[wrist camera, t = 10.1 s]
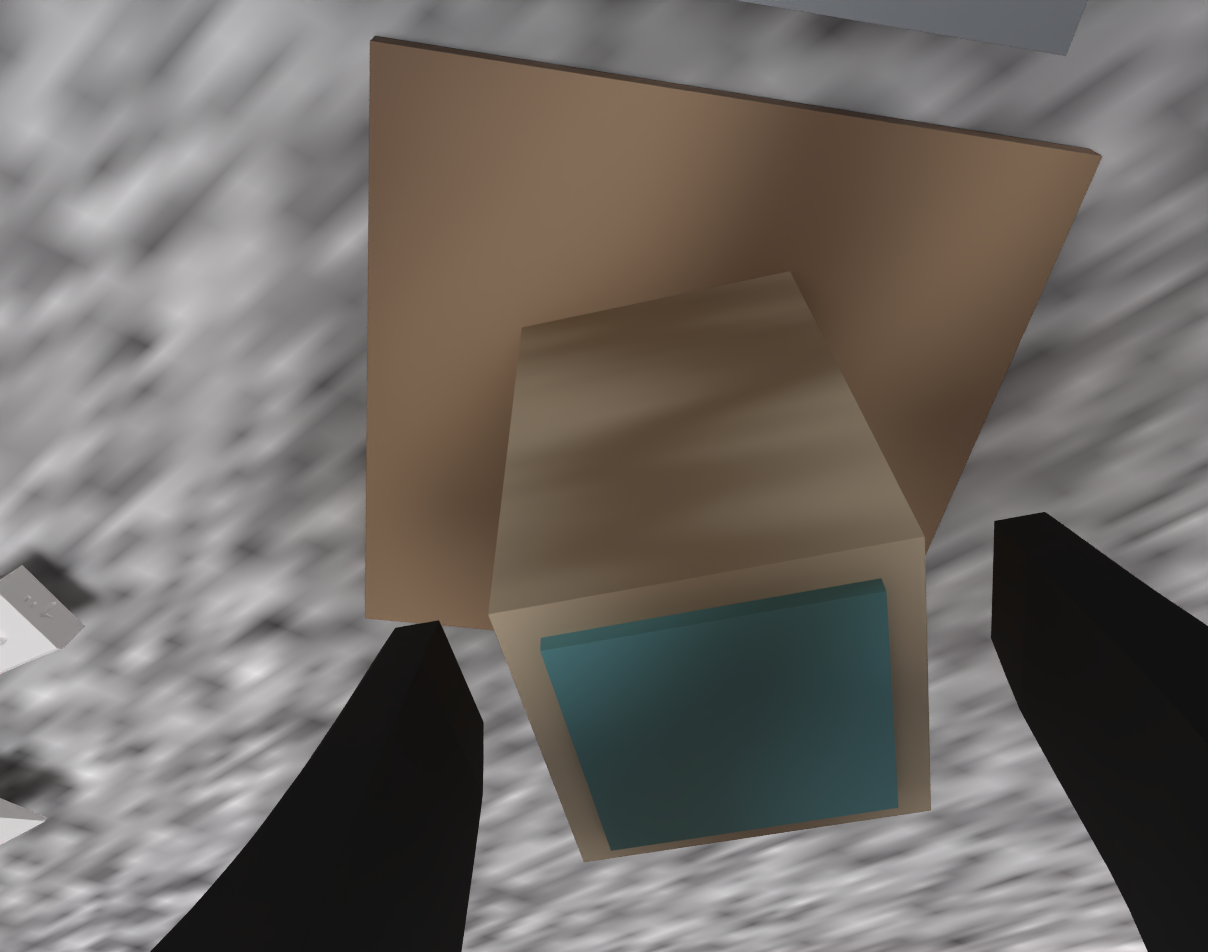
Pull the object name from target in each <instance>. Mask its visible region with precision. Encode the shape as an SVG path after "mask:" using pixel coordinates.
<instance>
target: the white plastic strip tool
mask: <svg viewBox="0 0 1208 952" xmlns="http://www.w3.org/2000/svg"><path fill="white" fill-rule="evenodd" d="M84 627H85V626H84V625H83V624H82V623H81V622H80V621H79V620H78V619H77V618H76V617H75V616H74V615H73V614H72V613H71V612H70V611H69V610H68V609H67V608H66V607H65V606H64V605H63V604H62V603H61V602H60V601H59V600H58V599H57V598H56V597H55V596H54V595H53V594H52V593H51V592H49V591H48V590H47V589H46V588H45V587H44V586H43V585H42V584H41V583H40V582H39V581H38V580H37V579H36V578H35V577H34V576H33V575H32V574H31V573H30V572H29V571H28V570H27V569H26V568H25V567H24V566H23V565H21V566H20V567H18V568H17V569H15V570H14V571H12V572H11V573H9V574H8V575H6V576H5V577H3V578H2V579H0V674H1V673H4V672H6V671H8V670H11V669H13V668H15V667H18V666H20V665H22V664H25V663H27V662H29V661H32V660H34V659H37V658H39V657H42V656H44V655H47V654H49V653H51V652H54V651H57V650H59V649H62V648H64V647H65V646H66V645H67V644H68V643H69V642H70V641H71V640H72V639H73V638H74V637H75V636H76V635H77V634H78V633H79V632H80V631H81V630H82V629H83V628H84ZM46 819H47V818H46V817H45V816H43V815H40V814H38V813H35V812H33V811H31V810H28V809H26V808H23V807H21V806H18V805H16V804H13V803H11V802H8V801H6V800H4V799H1V798H0V845H1V844H3V843H5V842H7V841H9V840H10V839H12V838H14V837H16V836H18V835H20V834H22V833H24V832H26V831H28V830H29V829H31V828H33V827H35V826H37V825H39V824H41V823H43V822H45V820H46Z"/></svg>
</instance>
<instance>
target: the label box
mask: <svg viewBox="0 0 1208 952" xmlns="http://www.w3.org/2000/svg"><path fill="white" fill-rule="evenodd" d="M488 615H489V618H490V620H491V623H492V626H493V628H494V631H495V633H496V636H497V639H498V641H499V644H500V646H501V649H502V651H503V654H504V657H505V659H506V662H507V664H508V667H509V670H510V672H511V675H512V677H513V680H514V683H515V685H516V688H517V690H518V693H519V695H520V698H521V701H522V703H523V706H524V708H525V711H526V714H527V716H528V719H529V721H530V724H531V726H532V729H533V732H534V734H535V737H536V739H537V742H538V745H539V747H540V750H541V752H542V755H543V757H544V760H545V763H546V765H547V768H548V770H549V773H550V776H551V778H552V781H553V783H554V786H555V788H556V791H557V794H558V796H559V799H560V801H561V804H562V807H563V809H564V812H565V814H566V817H567V819H568V822H569V825H570V827H571V830H572V832H573V835H574V838H575V840H576V843H577V845H578V848H579V850H580V853H581V856H582V858H583V861H584V862H589V861H596V860H602V859H609V858H616V857H622V856H629V855H636V854H643V853H649V852H656V851H663V850H669V849H676V848H683V847H689V846H696V845H703V844H709V843H716V842H723V841H730V840H736V839H743V838H750V837H756V836H763V835H770V834H776V833H783V832H790V831H796V830H803V829H810V828H816V827H823V826H830V825H837V824H843V823H850V822H857V821H863V820H870V819H877V818H883V817H890V816H897V815H903V814H910V813H917V812H924V811H930V810H931V791H930V746H929V702H928V658H927V614H926V569H925V536H924V534H923V532H922V530H921V528H920V526H919V524H918V522H917V520H916V518H915V516H914V514H913V512H912V510H911V508H910V506H909V504H908V503H907V501H906V499H905V497H904V495H903V493H902V491H901V489H900V487H899V485H898V483H897V481H896V479H895V477H894V475H893V473H892V471H891V469H890V467H889V465H888V463H887V461H886V459H885V457H884V455H883V453H882V451H881V449H880V447H879V445H878V443H877V441H876V440H875V438H874V436H873V434H872V432H871V430H870V428H869V426H868V424H867V422H866V420H865V418H864V416H863V414H862V412H861V410H860V408H859V406H858V404H857V402H856V400H855V398H854V396H853V394H852V392H851V390H850V388H849V386H848V384H847V382H846V380H845V378H844V376H843V375H842V373H841V371H840V369H839V367H838V365H837V363H836V361H835V359H834V357H833V355H832V353H831V351H830V349H829V347H828V345H827V343H826V341H825V339H824V337H823V335H822V333H821V331H820V329H819V327H818V325H817V323H816V321H815V319H814V317H813V315H812V313H811V311H810V310H809V308H808V306H807V304H806V302H805V300H804V298H803V296H802V294H801V292H800V290H799V288H798V286H797V284H796V282H795V280H794V278H793V276H792V274H791V272H790V271H789V272H784V273H779V274H775V275H770V276H765V277H760V278H756V279H751V280H746V281H741V282H736V283H732V284H727V285H722V286H717V287H713V288H708V289H703V290H698V291H694V292H689V293H684V294H679V295H674V296H670V297H665V298H660V299H655V300H651V301H646V302H641V303H636V304H632V305H627V306H622V307H617V308H612V309H608V310H603V311H598V312H593V313H589V314H584V315H579V316H574V317H570V318H565V319H560V320H555V321H550V322H546V323H541V324H536V325H531V326H527V327H522V330H521V338H520V347H519V355H518V364H517V372H516V381H515V389H514V398H513V407H512V415H511V424H510V432H509V441H508V449H507V458H506V466H505V475H504V483H503V492H502V501H501V509H500V518H499V526H498V535H497V543H496V552H495V560H494V569H493V578H492V586H491V595H490V603H489V612H488Z"/></svg>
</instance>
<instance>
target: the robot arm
mask: <svg viewBox="0 0 1208 952" xmlns="http://www.w3.org/2000/svg"><path fill="white" fill-rule="evenodd" d="M991 639H992V642H993V644H994V647H995V649H996V652H997V654H998V657H999V659H1000V662H1001V665H1002V667H1003V670H1004V672H1005V675H1006V677H1007V680H1008V682H1009V685H1010V687H1011V689H1012V692H1013V694H1014V697H1015V699H1016V701H1017V704H1018V706H1019V709H1020V711H1021V713H1022V714H1023V716H1024V718H1025V720H1026V722H1027V724H1028V726H1029V727H1030V729H1031V731H1032V733H1033V735H1034V736H1035V738H1036V740H1037V742H1038V744H1039V746H1040V747H1041V749H1042V751H1043V753H1044V755H1045V756H1046V758H1047V760H1048V762H1049V764H1050V765H1051V767H1052V769H1053V771H1054V773H1055V774H1056V776H1057V778H1058V780H1059V781H1060V783H1061V785H1062V787H1063V789H1064V790H1065V792H1066V794H1067V796H1068V797H1069V799H1070V801H1071V803H1072V805H1073V806H1074V808H1075V810H1076V812H1077V814H1078V815H1079V817H1080V819H1081V821H1082V822H1083V824H1084V826H1085V828H1086V830H1087V831H1088V833H1089V835H1090V837H1091V838H1092V840H1093V842H1094V844H1095V846H1096V847H1097V849H1098V851H1099V853H1100V854H1101V856H1102V858H1103V860H1104V862H1105V863H1106V865H1107V867H1108V869H1109V871H1110V872H1111V874H1112V876H1113V878H1114V880H1115V882H1116V884H1117V886H1118V888H1119V890H1120V892H1121V894H1122V896H1123V898H1124V900H1125V902H1126V904H1127V906H1128V908H1129V910H1130V912H1131V915H1132V917H1133V919H1134V921H1135V924H1136V926H1137V928H1138V930H1139V933H1140V935H1141V937H1142V940H1143V942H1144V944H1145V946H1146V949H1147V951H1148V952H1208V626H1207V625H1206V624H1204V623H1203V622H1201V621H1200V620H1198V619H1197V618H1195V617H1194V616H1192V615H1191V614H1189V613H1188V612H1186V611H1185V610H1183V609H1182V608H1180V607H1179V606H1177V605H1176V604H1174V603H1173V602H1171V601H1170V600H1168V599H1167V598H1165V597H1164V596H1162V595H1161V594H1159V593H1158V592H1156V591H1155V590H1154V589H1152V588H1151V587H1149V586H1148V585H1146V584H1145V583H1143V582H1142V581H1141V580H1139V579H1138V578H1136V577H1135V576H1134V575H1132V574H1131V573H1129V572H1128V571H1127V570H1125V569H1124V568H1122V567H1121V566H1120V565H1118V564H1117V563H1115V562H1114V561H1112V560H1111V559H1110V558H1108V557H1107V556H1106V555H1104V554H1103V553H1101V552H1100V551H1099V550H1097V549H1096V548H1095V547H1093V546H1092V545H1090V544H1089V543H1088V542H1086V541H1085V540H1083V539H1082V538H1081V537H1079V536H1078V535H1077V534H1075V533H1074V532H1072V531H1071V530H1070V529H1068V528H1067V527H1065V526H1064V525H1063V524H1061V523H1060V522H1058V521H1057V520H1056V519H1054V518H1053V517H1051V516H1050V515H1049V514H1047V513H1046V512H1042V513H1037V514H1031V515H1025V516H1020V517H1014V518H1009V519H1003V520H997V521H995V522H994V557H993V591H992V625H991ZM482 796H483V720H482V718H481V715H480V713H479V711H478V709H477V706H476V704H475V702H474V699H473V697H472V695H471V692H470V690H469V688H468V686H467V683H466V681H465V679H464V676H463V674H462V672H461V669H460V667H459V665H458V663H457V660H456V658H455V656H454V653H453V651H452V649H451V646H450V644H449V642H448V640H447V637H446V635H445V633H444V630H443V628H442V626H441V623H440V621H439V620H437V621H431V622H426V623H420V624H415V625H409V626H403V627H398V628H395V629H394V631H393V632H392V634H391V635H390V637H389V638H388V640H387V641H386V643H385V644H384V646H383V647H382V649H381V650H380V652H379V653H378V655H377V656H376V658H375V660H374V661H373V663H372V664H371V666H370V667H369V669H368V671H367V672H366V674H365V675H364V677H363V679H362V680H361V682H360V683H359V685H358V686H357V688H356V690H355V691H354V693H353V694H352V696H351V697H350V699H349V700H348V702H347V704H346V705H345V707H344V708H343V710H342V711H341V713H340V714H339V716H338V717H337V719H336V720H335V722H334V723H333V725H332V726H331V728H330V729H329V731H328V732H327V734H326V735H325V737H324V738H323V740H322V741H321V743H320V744H319V746H318V747H317V749H316V750H315V752H314V753H313V755H312V756H311V758H310V759H309V761H308V762H307V764H306V765H305V767H304V768H303V769H302V771H301V772H300V774H299V775H298V776H297V778H296V779H295V781H294V782H293V783H292V785H291V786H290V787H289V789H288V790H287V791H286V793H285V794H284V795H283V797H282V798H281V800H280V801H279V802H278V804H277V805H276V806H275V808H274V809H273V810H272V812H271V813H270V815H269V816H268V817H267V819H266V820H265V821H264V823H263V824H262V825H261V827H260V828H259V829H258V831H257V832H256V833H255V834H254V836H253V837H252V838H251V839H250V841H249V842H248V843H247V844H246V846H245V847H244V848H243V849H242V851H241V852H240V853H239V854H238V856H237V857H236V858H235V859H234V860H233V862H232V863H231V864H230V865H229V866H228V867H227V869H226V870H225V871H224V872H223V873H222V874H221V876H220V877H219V878H218V879H217V880H216V881H215V883H214V884H213V885H212V886H211V887H210V888H209V889H208V891H207V892H206V893H205V894H204V895H203V896H202V898H201V899H200V900H199V901H198V902H197V903H196V904H195V905H194V906H193V908H192V909H191V910H190V911H189V912H188V913H187V914H186V915H185V916H184V917H183V918H182V919H181V920H180V921H179V922H178V923H177V924H176V925H175V927H174V928H173V929H172V930H171V931H170V932H169V933H168V934H167V935H166V936H165V937H164V938H163V939H162V940H161V941H160V942H159V943H158V944H157V945H156V946H155V947H154V948H153V949H152V950H151V951H150V952H461V951H462V944H463V936H464V929H465V922H466V915H467V908H468V901H469V893H470V886H471V879H472V872H473V865H474V858H475V850H476V843H477V835H478V828H479V820H480V812H481V804H482Z"/></svg>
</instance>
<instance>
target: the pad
mask: <svg viewBox="0 0 1208 952" xmlns="http://www.w3.org/2000/svg"><path fill="white" fill-rule="evenodd" d="M1101 158H1102V156H1101V155H1100V154H1098V153H1096V152H1094V151H1093V150H1091V149H1087V148H1080V147H1074V146H1068V145H1061V144H1055V143H1049V142H1042V141H1036V140H1030V139H1023V138H1017V137H1011V136H1004V135H998V134H992V133H985V132H979V131H973V130H966V129H960V128H954V127H947V126H941V125H935V124H928V123H922V122H916V121H909V120H903V119H897V118H890V117H884V116H878V115H871V114H865V113H859V112H852V111H846V110H840V109H833V108H827V107H821V106H814V105H808V104H802V103H795V102H789V101H783V100H776V99H770V98H764V97H757V96H751V95H745V94H739V93H732V92H726V91H720V90H713V89H707V88H701V87H694V86H688V85H682V84H675V83H669V82H663V81H656V80H650V79H644V78H637V77H631V76H625V75H618V74H612V73H606V72H599V71H593V70H587V69H580V68H574V67H568V66H561V65H555V64H549V63H542V62H536V61H530V60H523V59H517V58H511V57H504V56H498V55H492V54H485V53H479V52H473V51H466V50H460V49H454V48H447V47H441V46H435V45H428V44H422V43H416V42H409V41H403V40H397V39H390V38H384V37H378V36H375V37H374V38H373V39H372V40H370V106H369V221H368V335H367V450H366V565H365V618H368V619H379V620H390V621H401V622H411V623H426V622H431V621H437V620H439V621H440V623H441V625H443V626H454V627H465V628H476V629H486V630H494V628H493V626H492V623H491V620H490V618H489V615H488V612H489V603H490V595H491V586H492V578H493V569H494V560H495V552H496V543H497V535H498V526H499V518H500V509H501V501H502V492H503V483H504V475H505V466H506V458H507V449H508V441H509V432H510V424H511V415H512V407H513V398H514V389H515V381H516V372H517V364H518V355H519V347H520V338H521V330H522V327H527V326H531V325H536V324H541V323H546V322H550V321H555V320H560V319H565V318H570V317H574V316H579V315H584V314H589V313H593V312H598V311H603V310H608V309H612V308H617V307H622V306H627V305H632V304H636V303H641V302H646V301H651V300H655V299H660V298H665V297H670V296H674V295H679V294H684V293H689V292H694V291H698V290H703V289H708V288H713V287H717V286H722V285H727V284H732V283H736V282H741V281H746V280H751V279H756V278H760V277H765V276H770V275H775V274H779V273H784V272H789V271H790V272H791V274H792V276H793V278H794V280H795V282H796V284H797V286H798V288H799V290H800V292H801V294H802V296H803V298H804V300H805V302H806V304H807V306H808V308H809V310H810V311H811V313H812V315H813V317H814V319H815V321H816V323H817V325H818V327H819V329H820V331H821V333H822V335H823V337H824V339H825V341H826V343H827V345H828V347H829V349H830V351H831V353H832V355H833V357H834V359H835V361H836V363H837V365H838V367H839V369H840V371H841V373H842V375H843V376H844V378H845V380H846V382H847V384H848V386H849V388H850V390H851V392H852V394H853V396H854V398H855V400H856V402H857V404H858V406H859V408H860V410H861V412H862V414H863V416H864V418H865V420H866V422H867V424H868V426H869V428H870V430H871V432H872V434H873V436H874V438H875V440H876V441H877V443H878V445H879V447H880V449H881V451H882V453H883V455H884V457H885V459H886V461H887V463H888V465H889V467H890V469H891V471H892V473H893V475H894V477H895V479H896V481H897V483H898V485H899V487H900V489H901V491H902V493H903V495H904V497H905V499H906V501H907V503H908V504H909V506H910V508H911V510H912V512H913V514H914V516H915V518H916V520H917V522H918V524H919V526H920V528H921V530H922V532H923V534H924V536H925V555H926V553H927V551H928V548H929V546H930V544H931V541H932V539H933V537H934V535H935V532H936V530H937V528H938V526H939V523H940V521H941V519H942V517H943V514H944V512H945V510H946V508H947V505H948V503H949V501H950V499H951V496H952V494H953V492H954V490H955V487H956V485H957V483H958V481H959V478H960V476H961V474H962V472H963V469H964V467H965V465H966V463H967V460H968V458H969V456H970V454H971V451H972V449H973V447H974V445H975V442H976V440H977V438H978V435H979V433H980V431H981V429H982V426H983V424H984V422H985V420H986V417H987V415H988V413H989V411H990V408H991V406H992V404H993V402H994V399H995V397H996V395H997V393H998V390H999V388H1000V386H1001V384H1002V381H1003V379H1004V377H1005V375H1006V372H1007V370H1008V368H1009V366H1010V363H1011V361H1012V359H1013V357H1014V354H1015V352H1016V350H1017V348H1018V345H1019V343H1020V341H1021V339H1022V336H1023V334H1024V332H1025V329H1026V327H1027V325H1028V323H1029V320H1030V318H1031V316H1032V314H1033V311H1034V309H1035V307H1036V305H1037V302H1038V300H1039V298H1040V296H1041V293H1042V291H1043V289H1044V287H1045V284H1046V282H1047V280H1048V278H1049V275H1050V273H1051V271H1052V269H1053V266H1054V264H1055V262H1056V260H1057V257H1058V255H1059V253H1060V251H1061V248H1062V246H1063V244H1064V242H1065V239H1066V237H1067V235H1068V232H1069V230H1070V228H1071V226H1072V223H1073V221H1074V219H1075V217H1076V214H1077V212H1078V210H1079V208H1080V205H1081V203H1082V201H1083V199H1084V196H1085V194H1086V192H1087V190H1088V187H1089V185H1090V183H1091V181H1092V178H1093V176H1094V174H1095V172H1096V169H1097V167H1098V165H1099V163H1100V160H1101Z"/></svg>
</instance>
